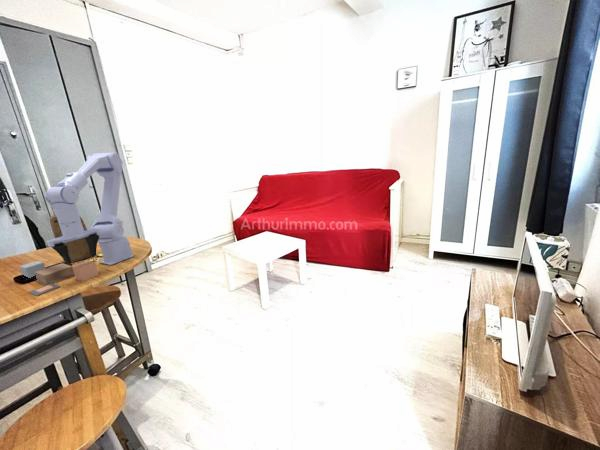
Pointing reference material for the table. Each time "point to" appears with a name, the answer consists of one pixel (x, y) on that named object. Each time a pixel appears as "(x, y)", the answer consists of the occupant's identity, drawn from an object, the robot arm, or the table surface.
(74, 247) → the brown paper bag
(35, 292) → the card
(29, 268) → the grey cube
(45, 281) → the walnut base
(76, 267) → the terracotta cube
